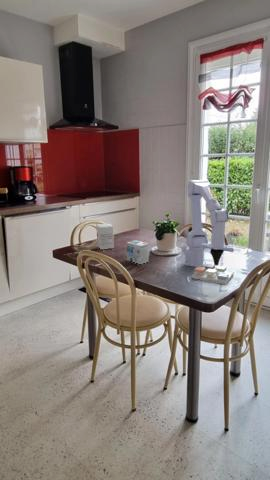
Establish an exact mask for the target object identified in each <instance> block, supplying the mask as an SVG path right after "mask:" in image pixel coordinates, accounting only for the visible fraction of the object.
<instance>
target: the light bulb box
mask: <svg viewBox="0 0 270 480" xmlns="http://www.w3.org/2000/svg"><path fill="white" fill-rule="evenodd" d="M149 245H150V244H149V243H148V242H144V241H140V240H137V239H134V240H131V241H128V242H126V261H127V260H129V261H128V262H130V261H132V262H131V263H133V262H135V263H134V264H136V263H138V264H137V265H139V264H142V265H144V264H143V263H145V264H147V263H146V262H148V263H149V262H150V261H149V257H150V255H149V254H150V253H149V251H150V249H149V248H150V247H149Z"/></svg>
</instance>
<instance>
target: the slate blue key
mask: <svg viewBox="0 0 270 480" xmlns="http://www.w3.org/2000/svg"><path fill="white" fill-rule="evenodd" d="M228 276H229V274H225V273H219V274H218V275H217V279H223V280H226V279H227V278H228Z"/></svg>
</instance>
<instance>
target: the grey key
mask: <svg viewBox="0 0 270 480" xmlns="http://www.w3.org/2000/svg"><path fill="white" fill-rule="evenodd" d="M203 267H204V268H206V270H208V269H216V265H214V264H210V263H206V264H205V265H204V266H203Z"/></svg>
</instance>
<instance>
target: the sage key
mask: <svg viewBox="0 0 270 480" xmlns="http://www.w3.org/2000/svg"><path fill="white" fill-rule="evenodd" d="M215 269H216V270H217V271H218V272H225V271H227V266H222V265H217V266H215Z"/></svg>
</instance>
